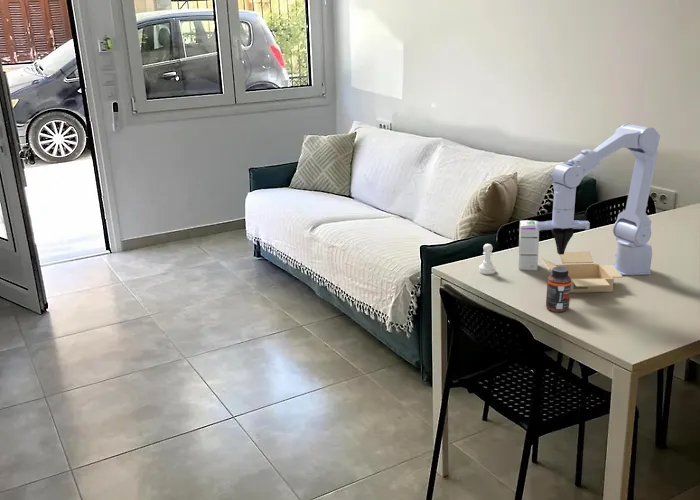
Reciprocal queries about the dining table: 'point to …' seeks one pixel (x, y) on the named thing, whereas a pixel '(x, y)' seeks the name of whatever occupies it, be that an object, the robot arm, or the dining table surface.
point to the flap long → (548, 264)
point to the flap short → (576, 257)
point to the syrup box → (528, 245)
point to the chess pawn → (487, 261)
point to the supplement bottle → (558, 290)
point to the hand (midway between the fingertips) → (560, 253)
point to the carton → (591, 277)
